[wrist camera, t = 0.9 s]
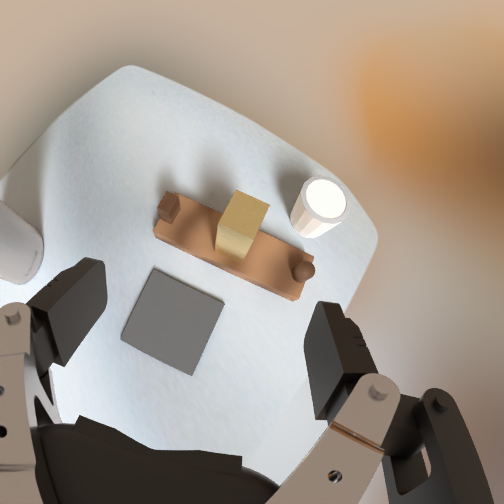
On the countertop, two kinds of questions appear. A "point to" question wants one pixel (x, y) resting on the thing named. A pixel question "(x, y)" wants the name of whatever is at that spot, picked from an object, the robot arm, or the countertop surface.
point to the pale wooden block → (239, 226)
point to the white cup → (319, 206)
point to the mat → (172, 322)
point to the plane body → (252, 268)
